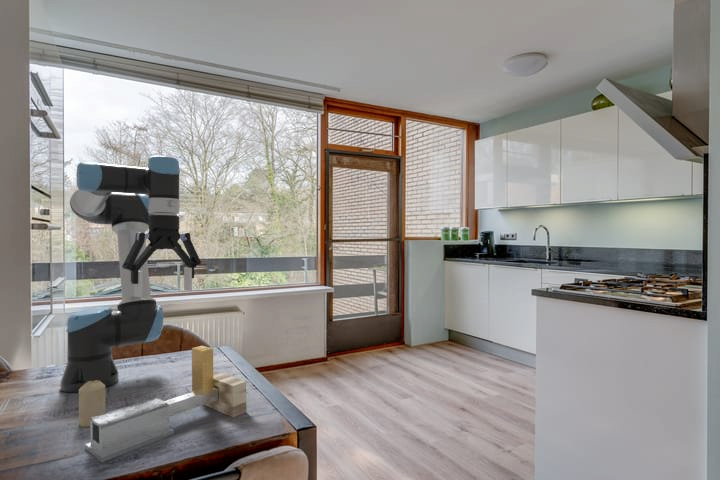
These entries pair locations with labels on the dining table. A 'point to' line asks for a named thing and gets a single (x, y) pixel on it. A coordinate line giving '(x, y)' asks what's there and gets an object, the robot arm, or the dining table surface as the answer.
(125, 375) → the dining table surface
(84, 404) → the candle
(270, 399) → the dining table surface
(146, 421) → the sleeve
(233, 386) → the socket block
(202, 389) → the tube
